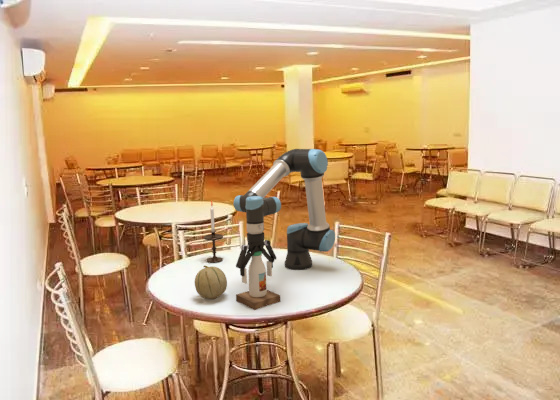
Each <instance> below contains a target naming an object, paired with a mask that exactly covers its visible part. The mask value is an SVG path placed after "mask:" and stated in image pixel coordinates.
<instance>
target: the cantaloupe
mask: <svg viewBox="0 0 560 400" xmlns="http://www.w3.org/2000/svg"><path fill="white" fill-rule="evenodd" d="M194 287H195V288H194V289H195V290H196V292H197V294H198V295H199V296H200V297H202V298H204V299H208V300H214V299H217V298H218V297H220V296H222V295H224V293H225V291H227V287H228V278H227V277H226V273H224V271H223V269H221V268H219V267H217V266H208V265H204V266H203V268H202V269H200V270H199V271H198V272H197V273H196V275H195V278H194Z"/></svg>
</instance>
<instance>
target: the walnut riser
mask: <svg viewBox="0 0 560 400" xmlns="http://www.w3.org/2000/svg"><path fill="white" fill-rule="evenodd" d="M235 301H236V302H237V303H240V304H241V305H244V307H245V306H246V307H248V308H249V309H251V310H254V311H255V310H258V309H259V310H260V309H263V308H266V307H268V306H271V305H274V304H277V303H280V302H281V294H278V293H276V292H274V291H272V290H269V289H267V294H266V295H265V296H263V297H251V296H250V295H249V290H247V291H244V292H240V293H237V294H235Z"/></svg>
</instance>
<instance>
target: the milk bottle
mask: <svg viewBox="0 0 560 400" xmlns="http://www.w3.org/2000/svg"><path fill="white" fill-rule="evenodd" d="M262 256H263V254H262V251H258V252H255V253H254V254H253V256H251V259H250V262H249V263H250V264H249V266H248V291H249V295H250V296H251V297H263V296H265V295H266V294H267V290H268V288H267V268H266V266H265V263H264V262H263V259H262Z"/></svg>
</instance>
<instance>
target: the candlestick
mask: <svg viewBox="0 0 560 400" xmlns="http://www.w3.org/2000/svg"><path fill="white" fill-rule="evenodd" d="M210 203H211V204H210V225H211V226H210V227H211V228H210V229H211V231H209V233H211V234H206V235H204V236H203V240H205V241H212V247H211V250H212V251H211V253H212V255H213V256H212V257H208V258H207V259H206V263H208V264H217V263H222V262H223V261H224V259H223V258H222V257H220V256H217V251H216V250H217V247H216V241H220V240H223V238H224V235H223V234H219V233H217V232H218V231H216V230H215V228H216V227H215V209H214V207H213V205H214V204H213V200H211V201H210Z"/></svg>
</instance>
